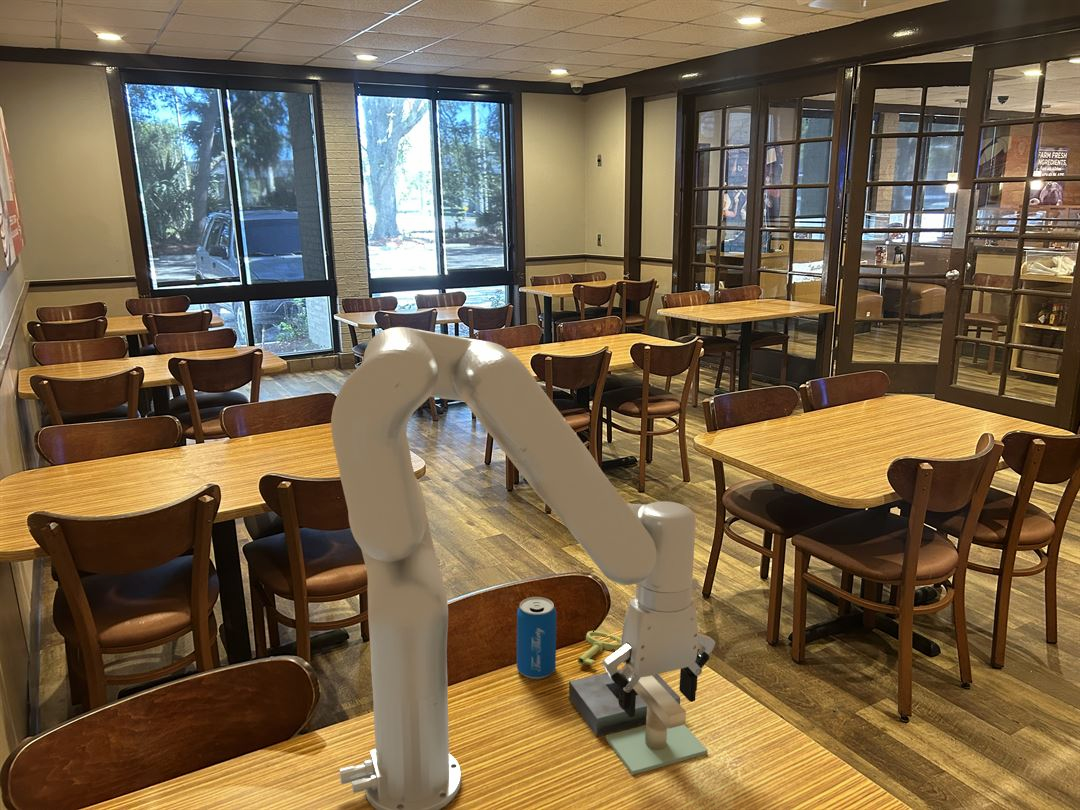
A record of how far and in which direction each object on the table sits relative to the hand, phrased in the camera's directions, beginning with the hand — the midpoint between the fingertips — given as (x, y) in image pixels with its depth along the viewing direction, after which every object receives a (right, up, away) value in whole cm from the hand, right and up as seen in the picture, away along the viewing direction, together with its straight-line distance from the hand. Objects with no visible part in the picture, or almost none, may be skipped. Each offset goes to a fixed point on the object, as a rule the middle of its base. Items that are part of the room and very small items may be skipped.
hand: (657, 703), depth 108 cm
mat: (0, -7, +2) cm, 7 cm away
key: (-6, -2, +27) cm, 27 cm away
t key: (0, -6, +2) cm, 6 cm away
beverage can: (-17, -2, +20) cm, 27 cm away
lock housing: (-4, -5, +11) cm, 12 cm away
